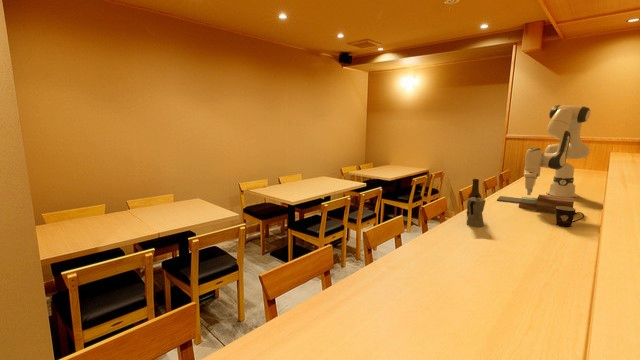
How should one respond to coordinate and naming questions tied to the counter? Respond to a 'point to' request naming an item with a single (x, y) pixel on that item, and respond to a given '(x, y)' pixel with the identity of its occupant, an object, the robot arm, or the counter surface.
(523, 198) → the cover plate
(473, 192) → the beer bottle
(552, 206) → the walnut case
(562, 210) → the coffee mug
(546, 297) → the counter surface
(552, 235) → the counter surface
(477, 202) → the coffeepot
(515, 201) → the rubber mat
